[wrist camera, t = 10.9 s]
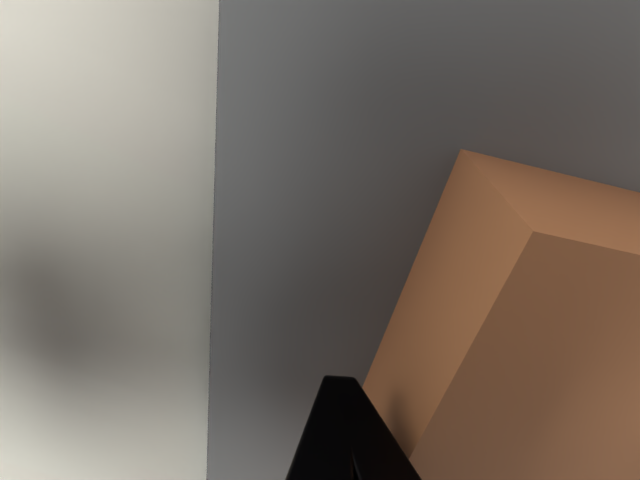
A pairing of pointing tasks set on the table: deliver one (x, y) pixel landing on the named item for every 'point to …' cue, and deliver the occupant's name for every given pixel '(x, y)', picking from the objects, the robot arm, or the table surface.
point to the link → (518, 331)
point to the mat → (377, 173)
